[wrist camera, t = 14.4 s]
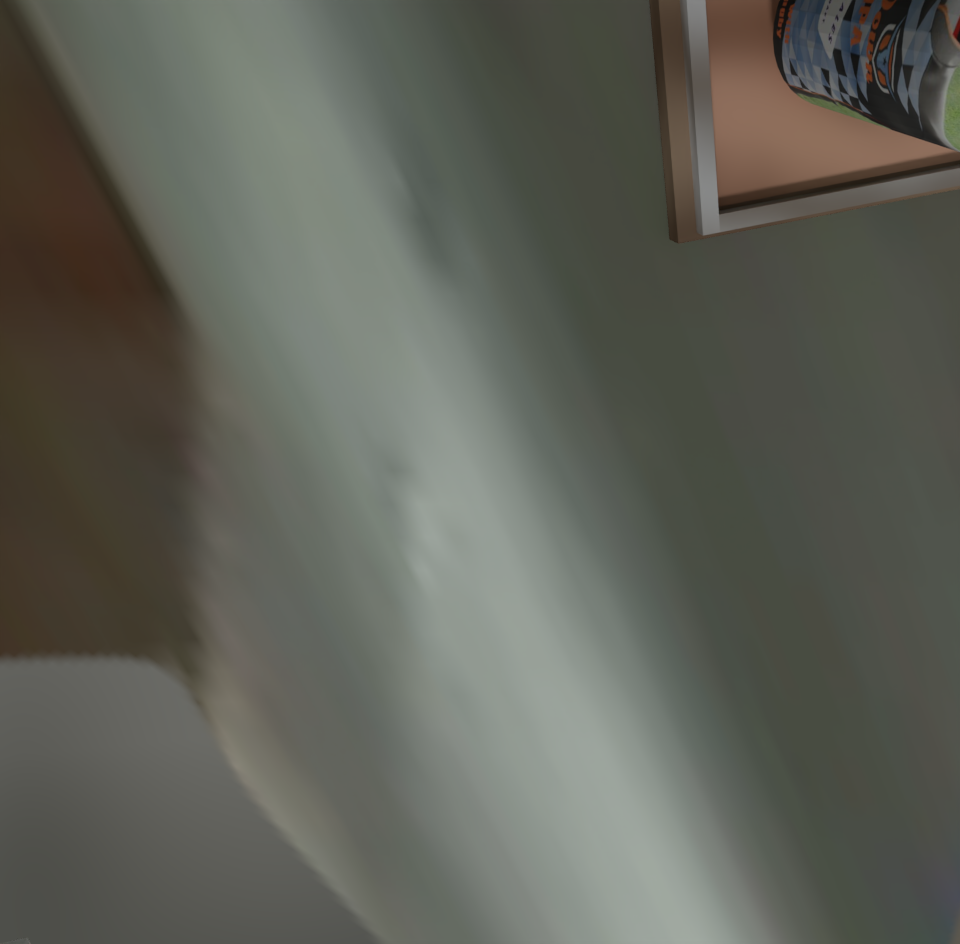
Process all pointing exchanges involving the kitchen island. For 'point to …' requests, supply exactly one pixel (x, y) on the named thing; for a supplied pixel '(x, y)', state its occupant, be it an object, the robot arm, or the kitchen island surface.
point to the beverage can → (876, 61)
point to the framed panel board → (765, 131)
